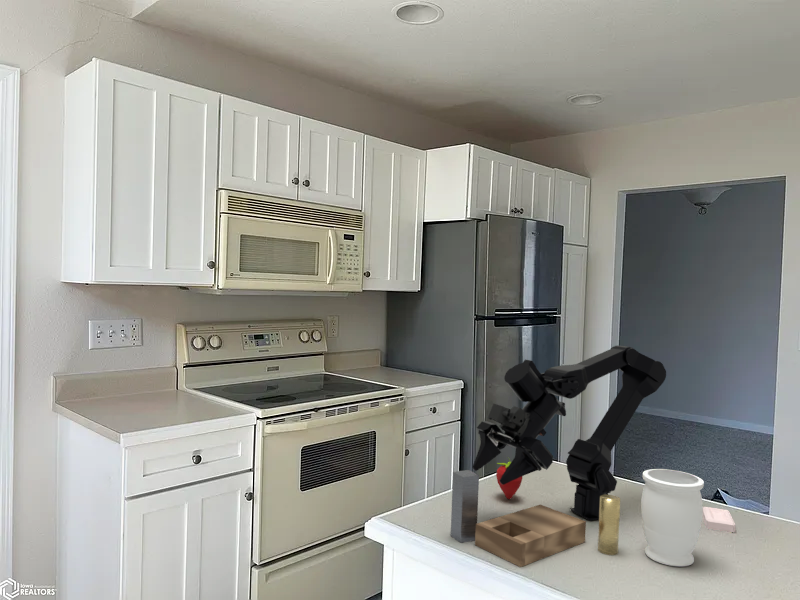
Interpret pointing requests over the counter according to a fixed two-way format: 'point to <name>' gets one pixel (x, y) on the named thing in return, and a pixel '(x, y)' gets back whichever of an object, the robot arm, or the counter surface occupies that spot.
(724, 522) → the soap bar
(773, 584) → the counter surface
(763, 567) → the counter surface
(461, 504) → the square bit
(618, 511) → the round bit
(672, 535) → the jar
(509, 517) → the socket block
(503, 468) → the strawberry
